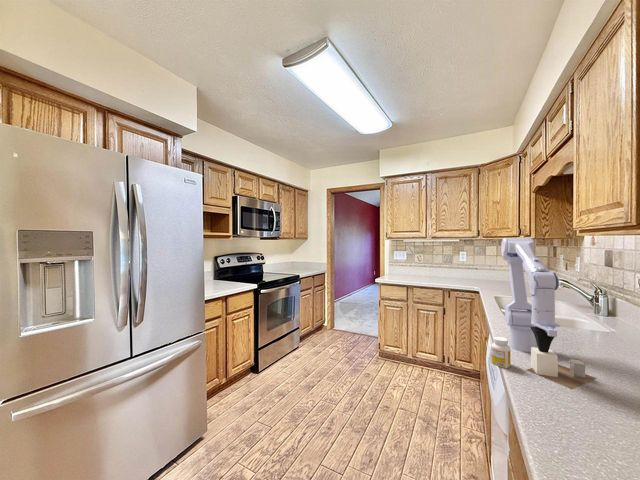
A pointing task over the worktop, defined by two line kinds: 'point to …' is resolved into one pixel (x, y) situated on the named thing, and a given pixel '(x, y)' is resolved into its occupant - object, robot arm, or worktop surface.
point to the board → (565, 377)
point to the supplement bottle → (500, 352)
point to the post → (577, 369)
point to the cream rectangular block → (544, 362)
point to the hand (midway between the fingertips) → (543, 351)
